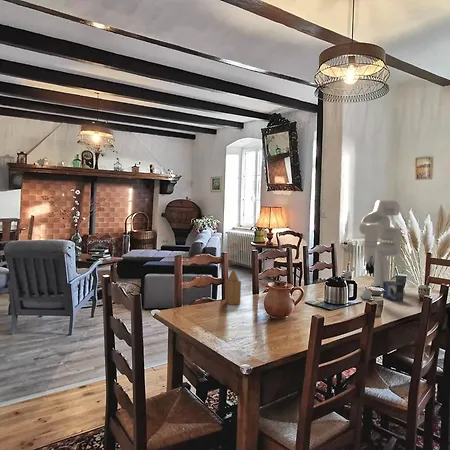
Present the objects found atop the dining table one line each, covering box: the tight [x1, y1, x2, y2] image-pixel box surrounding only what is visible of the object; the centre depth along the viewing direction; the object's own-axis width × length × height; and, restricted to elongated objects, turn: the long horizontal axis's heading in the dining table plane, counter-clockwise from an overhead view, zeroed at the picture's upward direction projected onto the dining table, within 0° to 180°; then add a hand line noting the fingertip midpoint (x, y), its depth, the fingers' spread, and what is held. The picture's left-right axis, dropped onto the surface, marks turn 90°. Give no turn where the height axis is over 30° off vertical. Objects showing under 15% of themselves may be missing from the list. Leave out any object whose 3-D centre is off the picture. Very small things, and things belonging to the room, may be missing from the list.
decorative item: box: [224, 268, 242, 306], centre depth 216 cm, size 7×7×20 cm
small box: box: [382, 280, 405, 303], centre depth 236 cm, size 11×6×10 cm, turn 25°
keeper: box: [360, 288, 371, 301], centre depth 234 cm, size 8×8×6 cm
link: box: [361, 288, 371, 299], centre depth 234 cm, size 6×6×5 cm
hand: (369, 272), depth 234 cm, fingers open, 9 cm apart
